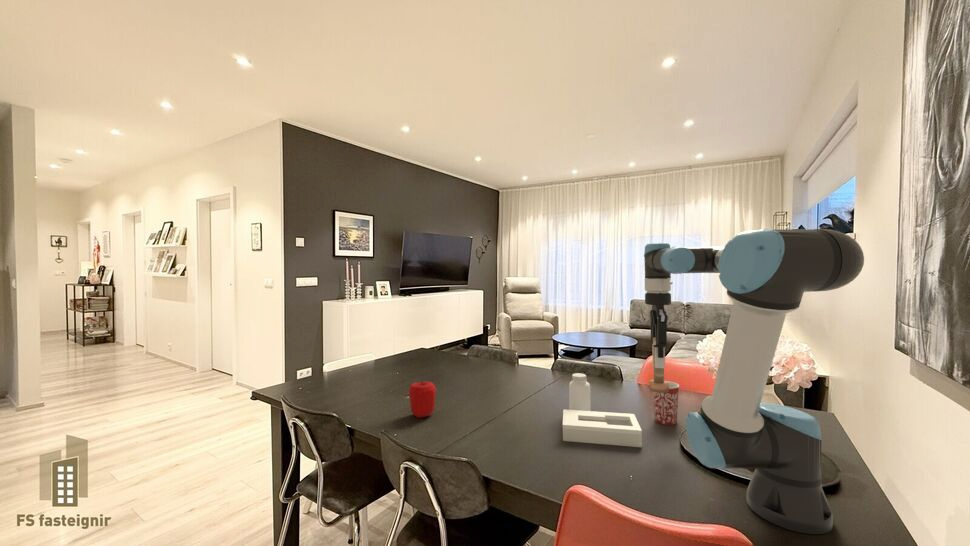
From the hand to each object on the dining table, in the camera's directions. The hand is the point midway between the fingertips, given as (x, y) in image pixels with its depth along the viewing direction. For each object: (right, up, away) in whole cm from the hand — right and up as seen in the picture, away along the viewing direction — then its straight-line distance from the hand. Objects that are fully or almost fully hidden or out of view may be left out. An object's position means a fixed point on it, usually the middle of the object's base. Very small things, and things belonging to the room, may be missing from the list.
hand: (658, 366), depth 120 cm
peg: (0, -8, 0) cm, 8 cm away
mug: (+12, -25, +19) cm, 33 cm away
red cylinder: (-79, -26, +26) cm, 87 cm away
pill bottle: (-18, -25, +26) cm, 40 cm away
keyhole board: (-17, -25, +7) cm, 31 cm away
